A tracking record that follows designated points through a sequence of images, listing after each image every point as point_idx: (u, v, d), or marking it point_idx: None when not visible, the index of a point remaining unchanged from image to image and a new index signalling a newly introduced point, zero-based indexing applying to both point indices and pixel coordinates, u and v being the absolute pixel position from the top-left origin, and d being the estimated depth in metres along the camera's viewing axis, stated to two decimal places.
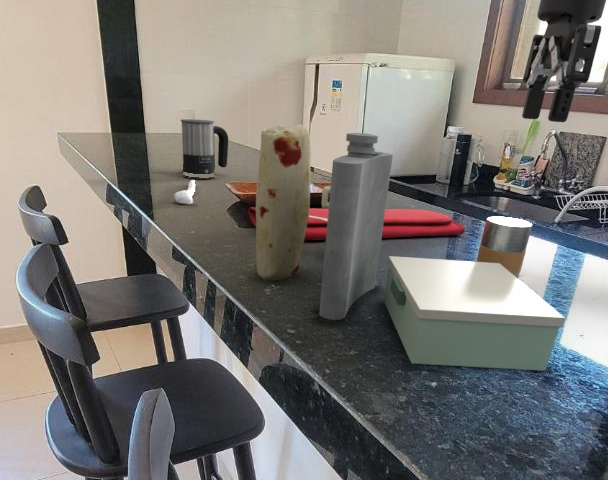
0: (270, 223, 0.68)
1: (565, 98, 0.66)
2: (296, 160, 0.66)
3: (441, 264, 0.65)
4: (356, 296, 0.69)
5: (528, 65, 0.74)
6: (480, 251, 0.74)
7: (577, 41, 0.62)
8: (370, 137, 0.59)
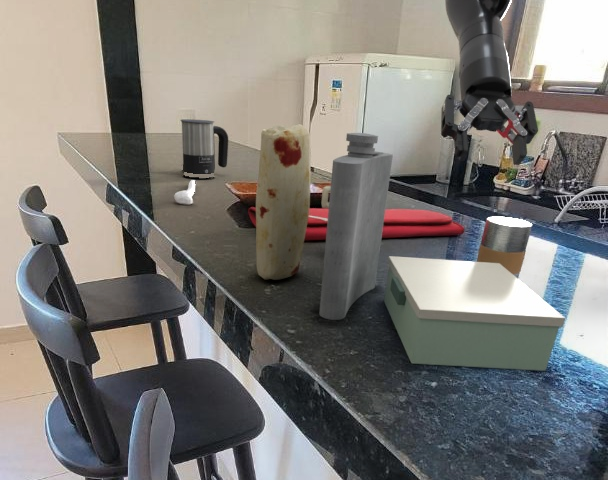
0: (270, 223, 0.68)
1: (455, 142, 0.80)
2: (296, 160, 0.66)
3: (441, 264, 0.65)
4: (356, 296, 0.69)
5: None
6: (480, 251, 0.74)
7: None
8: (370, 137, 0.59)
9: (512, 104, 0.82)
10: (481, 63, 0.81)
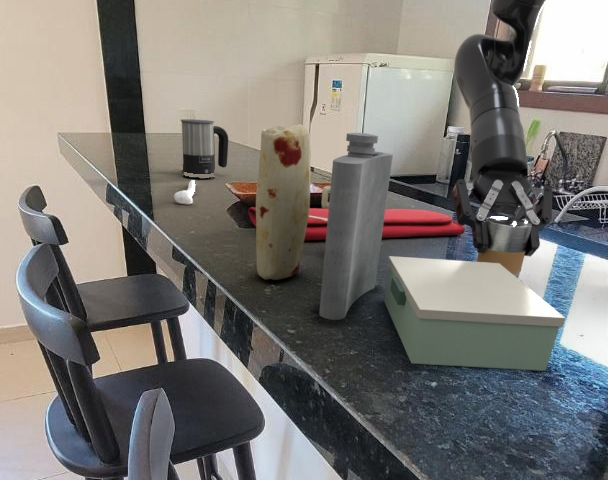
0: (270, 223, 0.68)
1: (474, 232, 0.73)
2: (296, 160, 0.66)
3: (441, 264, 0.65)
4: (356, 296, 0.69)
5: (538, 217, 0.76)
6: None
7: None
8: (370, 137, 0.59)
9: (529, 185, 0.75)
10: (495, 141, 0.74)
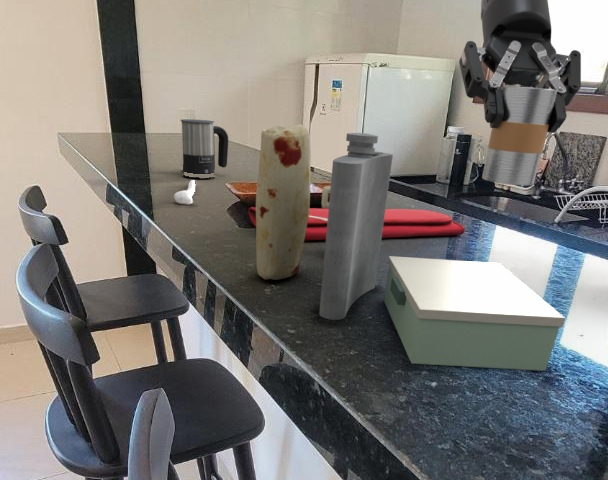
0: (270, 223, 0.68)
1: (486, 104, 0.60)
2: (296, 160, 0.66)
3: (441, 264, 0.65)
4: (356, 296, 0.69)
5: None
6: (494, 128, 0.61)
7: None
8: (370, 137, 0.59)
9: (553, 50, 0.62)
10: None
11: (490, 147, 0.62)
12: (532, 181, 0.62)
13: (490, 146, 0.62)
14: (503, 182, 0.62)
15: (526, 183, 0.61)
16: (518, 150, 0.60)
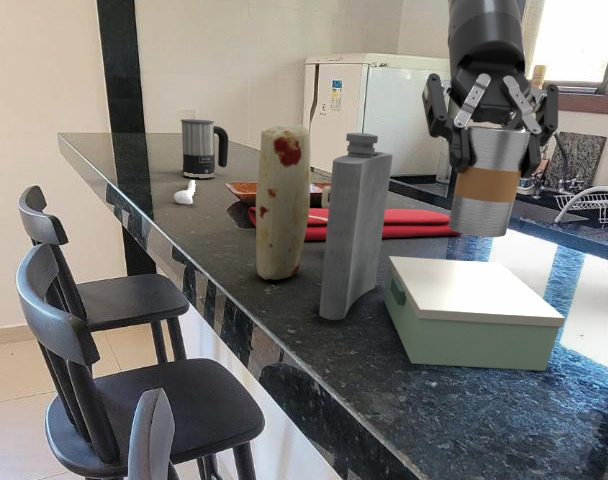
0: (270, 223, 0.68)
1: (450, 145, 0.53)
2: (296, 160, 0.66)
3: (441, 264, 0.65)
4: (356, 296, 0.69)
5: None
6: None
7: None
8: (370, 137, 0.59)
9: (527, 83, 0.55)
10: (480, 21, 0.54)
11: (456, 193, 0.55)
12: (503, 232, 0.55)
13: (456, 192, 0.55)
14: (470, 233, 0.54)
15: (496, 235, 0.54)
16: (486, 199, 0.52)
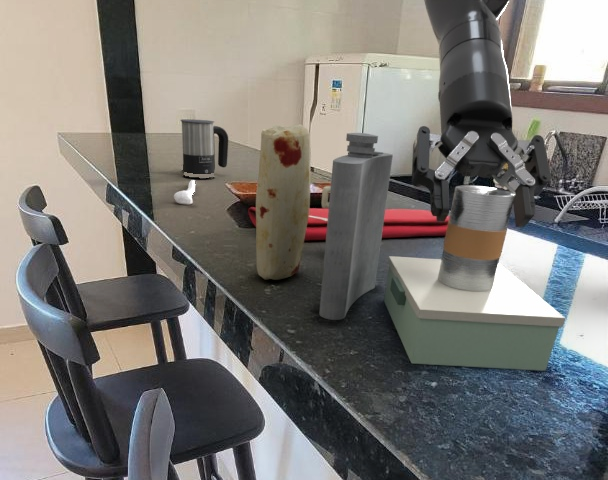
0: (270, 223, 0.68)
1: (432, 195, 0.56)
2: (296, 160, 0.66)
3: None
4: (356, 296, 0.69)
5: None
6: (448, 230, 0.56)
7: None
8: (370, 137, 0.59)
9: (514, 139, 0.57)
10: (469, 81, 0.56)
11: (445, 249, 0.57)
12: (490, 286, 0.57)
13: (445, 248, 0.57)
14: (458, 288, 0.57)
15: (483, 289, 0.57)
16: (473, 257, 0.55)
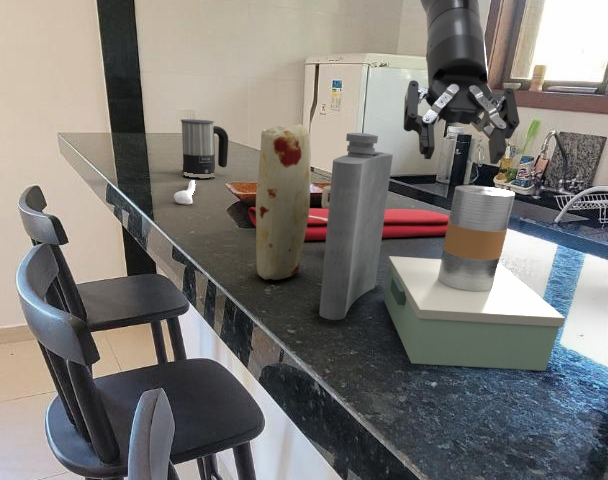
0: (270, 223, 0.68)
1: (420, 137, 0.67)
2: (296, 160, 0.66)
3: None
4: (356, 296, 0.69)
5: None
6: (448, 230, 0.56)
7: (405, 105, 0.69)
8: (370, 137, 0.59)
9: (488, 91, 0.68)
10: (451, 42, 0.67)
11: (445, 249, 0.57)
12: (490, 286, 0.57)
13: (445, 248, 0.57)
14: (458, 288, 0.57)
15: (483, 289, 0.57)
16: (473, 257, 0.55)
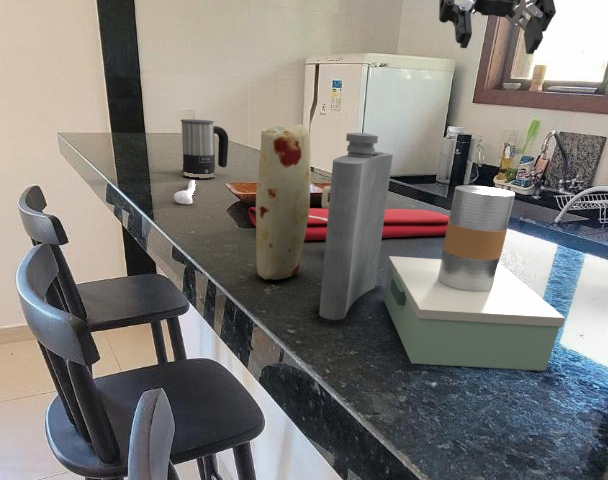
0: (270, 223, 0.68)
1: (456, 26, 0.67)
2: (296, 160, 0.66)
3: None
4: (356, 296, 0.69)
5: None
6: (448, 230, 0.56)
7: None
8: (370, 137, 0.59)
9: None
10: None
11: (445, 249, 0.57)
12: (490, 286, 0.57)
13: (445, 248, 0.57)
14: (458, 288, 0.57)
15: (483, 289, 0.57)
16: (473, 257, 0.55)
